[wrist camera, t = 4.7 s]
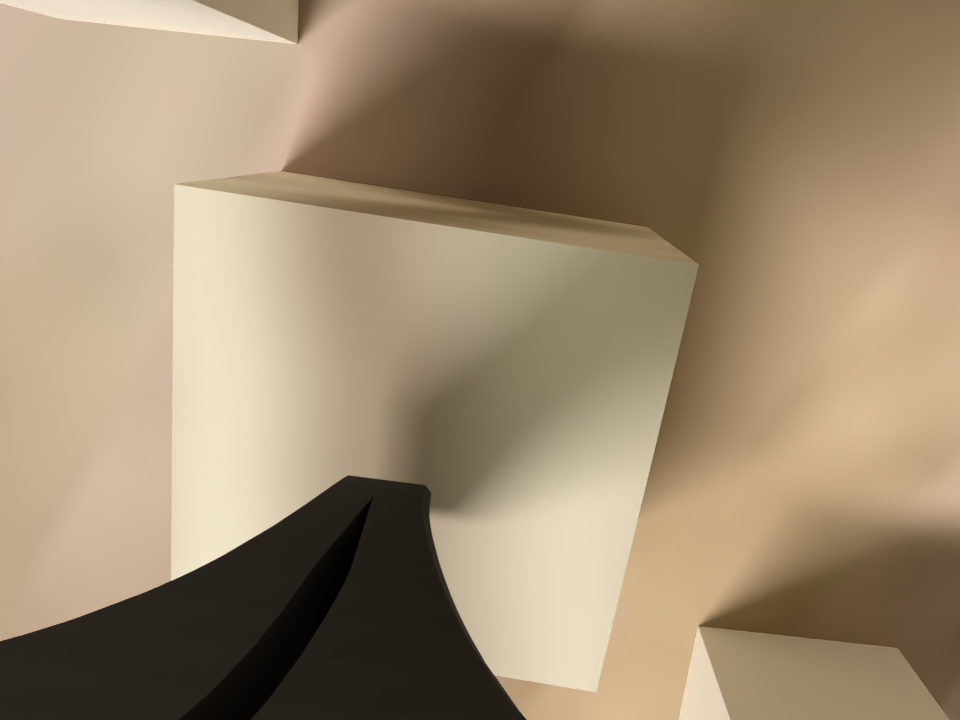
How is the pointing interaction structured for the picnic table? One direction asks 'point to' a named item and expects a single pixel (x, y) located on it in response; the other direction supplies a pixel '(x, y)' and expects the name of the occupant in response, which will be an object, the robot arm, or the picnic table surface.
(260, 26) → the numbered cube seven
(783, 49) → the picnic table surface
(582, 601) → the plain block
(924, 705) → the white marked cube
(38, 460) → the picnic table surface
